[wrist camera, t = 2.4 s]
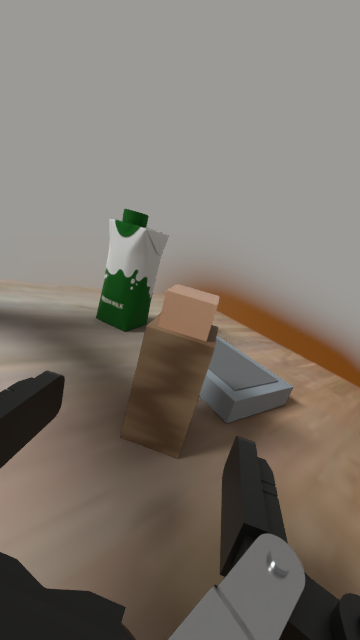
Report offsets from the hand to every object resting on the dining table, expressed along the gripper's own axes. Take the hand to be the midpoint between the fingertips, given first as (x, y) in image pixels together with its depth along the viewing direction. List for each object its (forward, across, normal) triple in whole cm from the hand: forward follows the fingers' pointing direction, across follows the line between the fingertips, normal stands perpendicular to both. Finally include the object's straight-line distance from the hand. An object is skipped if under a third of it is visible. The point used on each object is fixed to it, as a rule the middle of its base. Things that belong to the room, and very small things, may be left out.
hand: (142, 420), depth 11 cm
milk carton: (+36, +14, +10) cm, 40 cm away
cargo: (+11, 0, -1) cm, 11 cm away
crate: (+12, 0, +10) cm, 15 cm away
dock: (+26, -5, +10) cm, 28 cm away
